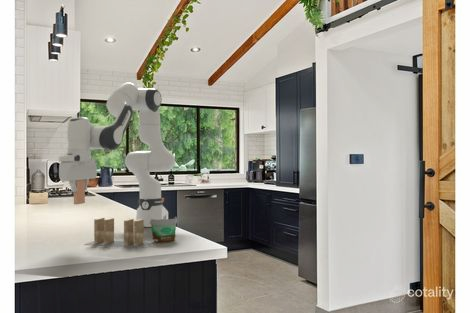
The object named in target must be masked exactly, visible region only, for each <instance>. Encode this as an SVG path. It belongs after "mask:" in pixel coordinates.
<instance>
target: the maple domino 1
mask: <svg viewBox="0 0 470 313" xmlns="http://www.w3.org/2000/svg"><path fill="white" fill-rule="evenodd" d="M104 220H105V217H99V218H95V219H93V227H94V228H93V234H94V235H93V237H94V238H93V239H94V244H99V243H102V242H104Z"/></svg>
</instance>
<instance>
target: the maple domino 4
mask: <svg viewBox="0 0 470 313" xmlns="http://www.w3.org/2000/svg"><path fill="white" fill-rule="evenodd" d="M144 228H145V227H144V219H139V220H136V219H135V220H134V246H140V245H142V244H144V242H145V241H144V240H145V238H144V237H145V236H144V235H145V234H144V232H145V231H144Z"/></svg>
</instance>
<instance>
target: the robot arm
mask: <svg viewBox="0 0 470 313" xmlns="http://www.w3.org/2000/svg"><path fill="white" fill-rule="evenodd" d="M162 99H163V98H162V95H161V92H160V91H159V90H158V89H156V88H152V87H149V88H148V87H147V88H146V87H145V88H144V87H137V86H136V85H135V84H134V83H132V82H123V83H122V84H121V85H119V86H118V87H117V88H116V89H115V90H114V91H113V92H112V94H110V96H109V97H108V99H107V101H106V109H107V111H108V112H109V114H111V115H112V116H113V117H114V118H115V119H114V122H113V123H111V124H110V125H102V126H101V125H99V126H96V125H94V124H93V123H92V122H90V120H89V118H88V117H85V116H81V117H73V118H71V119H69V120H68V123H67V131H66V132H67V133H66V134H67V137H66V138H67V140H66V141H67V142H68V143H67V144H68V146H67V151H66V153H65V152H64V153H63V154H62V155H60V156H58V161H59V167H58V176H59V177H58V178H59V180H60V181H61V182H68V184H69V185H70V186H69V187H70V189H71V192H73V193H74V192H77V187H76V185H75V183H76V180H83V179H85V191H87V190H88V185H89V182H90V180H92V179H97V175H98V170H97V163H96V161H95V159H94V157H92V156H91V153H92V152H91V150H108V151H109V150H110V151H115V150H117V149H118V148H119V147H120V146H121V145H122V142H123V140H124V135H125V133H126V131H127V129H128V126H129V124H130V123H131V120H132V117H133V114H134V113H133V111H135V112H137V111H138V112H139V113H138V114H139V116H138V137H139V141H141V143H143V144H145V145H146V146H147V145H148V146H149V147H150V150H137V151H131V152H128V153H127V155H126V156H125V166H126V168H127V170H128V171H130V172H131V173H132V174H133V175H134V176H135V178H136V180H137V182H138V188H139V189H138V190H139V198H138V208H136V218H135V221H136V220H139V219H144V228H152V226H151V224H150V221H151V219H154V220H161V219H169V211H168V209H167V208H166V207H165V206H164V205H163V204H164V202H165V197H162V184H161V182H160V181H159V180H158V179H156V178H154V177H152V176H151V174H150V173H152V172H155V173H159V172H160V173H161V172H167V171H168V172H169V171H171V170H173V168H174V167H175V165H176V164H175V163H176V158H175V155H174V154H173V153H172V152H171V151H170V150H169V149H168V148H167V147H166V146H165V144H164V142H163V140H162V134H161V133H162V132H161V115H160V114H161V113H160V109H159V108H160V107H161V104H162Z"/></svg>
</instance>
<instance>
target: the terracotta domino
mask: <svg viewBox="0 0 470 313" xmlns="http://www.w3.org/2000/svg"><path fill="white" fill-rule="evenodd" d="M75 185H76V187H77V192H73V205H82V204H86V194H85V193H86V192H85V191H86V190H85V179H83V180H76V183H75Z"/></svg>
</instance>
